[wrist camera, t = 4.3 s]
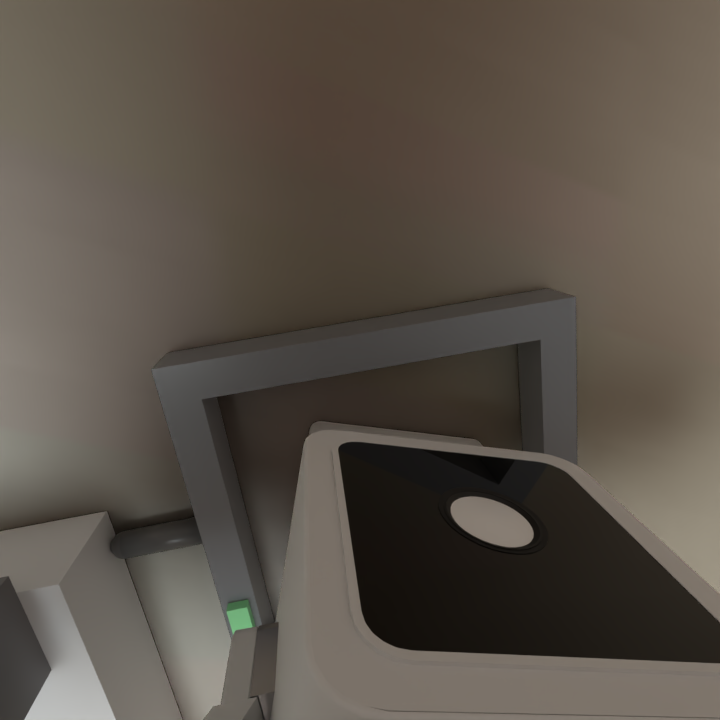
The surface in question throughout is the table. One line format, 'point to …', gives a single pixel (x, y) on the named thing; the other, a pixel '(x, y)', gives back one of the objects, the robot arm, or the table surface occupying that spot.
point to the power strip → (81, 622)
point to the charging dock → (343, 356)
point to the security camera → (480, 591)
